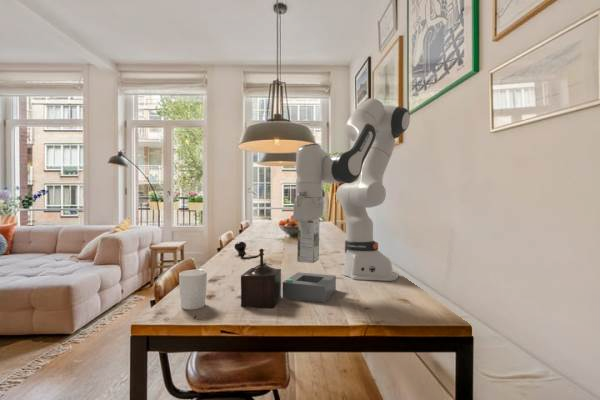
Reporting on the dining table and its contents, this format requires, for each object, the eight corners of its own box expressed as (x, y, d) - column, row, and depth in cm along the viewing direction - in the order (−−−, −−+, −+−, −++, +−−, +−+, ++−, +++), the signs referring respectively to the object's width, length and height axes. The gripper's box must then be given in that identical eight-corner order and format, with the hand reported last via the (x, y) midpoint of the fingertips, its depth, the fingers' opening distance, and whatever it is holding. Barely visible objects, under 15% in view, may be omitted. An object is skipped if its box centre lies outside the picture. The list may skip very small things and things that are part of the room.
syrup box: (303, 258, 108) (303, 217, 108) (319, 260, 106) (319, 217, 106) (297, 262, 103) (297, 218, 103) (313, 263, 101) (314, 218, 101)
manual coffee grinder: (282, 296, 101) (282, 241, 101) (274, 309, 90) (274, 246, 90) (237, 294, 104) (237, 240, 103) (223, 305, 93) (223, 245, 92)
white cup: (199, 299, 98) (199, 268, 98) (212, 305, 93) (211, 272, 92) (174, 305, 93) (174, 272, 93) (186, 312, 87) (186, 277, 87)
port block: (335, 290, 108) (335, 273, 108) (324, 302, 95) (324, 284, 95) (298, 286, 113) (298, 270, 113) (282, 297, 100) (282, 280, 100)
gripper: (307, 191, 93) (307, 237, 94) (326, 192, 113) (326, 230, 113) (288, 191, 96) (288, 236, 96) (309, 192, 115) (309, 230, 115)
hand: (309, 233), depth 104 cm, fingers closed on syrup box, 6 cm apart
